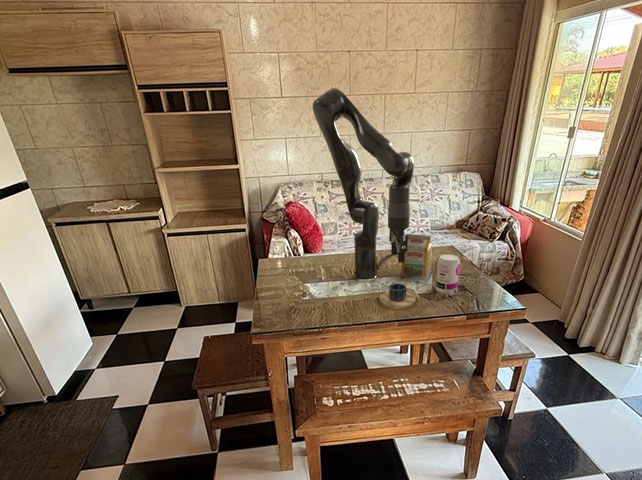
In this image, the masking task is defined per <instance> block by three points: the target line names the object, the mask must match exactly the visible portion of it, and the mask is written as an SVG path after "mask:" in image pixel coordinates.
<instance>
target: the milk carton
mask: <svg viewBox="0 0 642 480" xmlns="http://www.w3.org/2000/svg"><path fill="white" fill-rule="evenodd" d="M405 235H407V236H408V247H407V250H408V251H407V252H405V259H404V262H401V271H400V272H401V274H400V278H401V279H409V280H410V279H412V280H414V279H415V280H423V281H426V280H428V279H429V277H430V275H431V269H432V255H433V254H432V253H433V241H432V235H426V234H416V233H415V234H413V233H405ZM402 249H403V247H402Z"/></svg>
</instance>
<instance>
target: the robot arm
mask: <svg viewBox="0 0 642 480" xmlns="http://www.w3.org/2000/svg"><path fill="white" fill-rule="evenodd" d="M312 111H313V115H314V118H315V121H316V123H317V125H318V127H319V129H320V131H321V133H322V136H323V138H324V140H325V143H326V146H327V148H328V151H329V153H330V156H331V159H332V162H333V166H334V168H335V171H336V174H337V176H338V179H339V182H340V184H341V189H342V191H343V194H344V198H345V203H346V206H347V210H348V214H349V217H350V219H351V221H353V223H356V224H360V225H362V230H359V231H356V233H354V236H353V237H354V239H353V240H354V241H353V243H354V244H353V245H354V278H357V279H361V280H370V279H377V277H378V269H380V267H381V265H382V263H383V262H384V261H385V260H386V259H387V258H389V257H391V256H395V255H397V262H398V263H399V264H400V263H401V264H402V262H404V259H405V252H407V251H408V250H407V247H408V236H407V235H406V233H405V230H407V229H409V227H410V214H411V213H410V212H411V206H410V205H411V204H410V195H411V194H410V192H411V191H410V189H411V184H412V179H413V175H414V169H415V163H414V158H413V155H412V154H411V153H409V152H408V151H400V152H397V151H396V150H394V148H393V147H392V142H391V141H390V140H389V138H387V137H386V136H385V135H383V134H382V133H381V132H380V131H379V130H377V129H376V128H375V127H374V126H373V125H372V124H371V123H370V121H368V120H367V118H366V117H365V116H364V115H363V114H362V113H361V112H360V111H359V108H357V107H356V106H355V104H354V103H353V102H352V101H351V100H350V98H349V97H348V96H347V94H345V93H344V92H343V91H342V90H340V88H336V87H332V88H329V89H328V90H326V91H325V92H324V93H322V94H320V95H319V96H318V97H317V98H315V99H314V100H313V102H312ZM341 118H344V119H346V120H347V121H348V122H349V123H351V126H352V127H353V130H354V132H355V136H356V138H357V141H358V143H359V144H360V146H361V147H362V148H363V149H364V150H365V151H366V152H367V153H368V154H370V155H371V156H372V157H373V158H375V159H376V161H377V162H378V164H379V165H380V166H381V168H382V169H383V170H384V171H385V172H386V174H388V175H389V176H392V177H393V180H392V183H391V184H390V185H389V188H388V206H387V228H388V229H389V232H388V233H389V234H388V235H389V236H388V237H389V238H388V241H389V242H390V254H387V255H386V256H384V257H383V258H382V259H381V260H380V262H379V264H378V256H377V236H378V233H379V219H380V210H379V206H378V204H377V203H375V202H373V201H367V200H363V197H361V194H360V190H359V189H360V188H359V185H360V182H361V177H362V165H361V162H360V160H359V156H358V153H357V151H356V150H355V149H354V148H353V147H352V146H351V144H349V143H348V142H346V141H345V140H344V139H343V138H342V137H341V135H340V134H339V132H338V129H337V126H336V122H337V121H338V120H340V119H341ZM402 248H403V249H402Z"/></svg>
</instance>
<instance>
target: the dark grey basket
mask: <svg viewBox="0 0 642 480" xmlns="http://www.w3.org/2000/svg"><path fill="white" fill-rule="evenodd" d="M412 289H413V287H412V286H411V284H409V285H406V284H402V283H392V284H390V285H389V286H388V292H389V299H390V300H391V301H394V302H401V301H404V300H405V299H406V292H407V291H409V290H410V291H411V290H412Z"/></svg>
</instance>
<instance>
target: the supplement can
mask: <svg viewBox="0 0 642 480" xmlns="http://www.w3.org/2000/svg"><path fill="white" fill-rule="evenodd" d="M460 264H461V260H460V257H459V256H458V255H456V254H451V253H446V254H441V255H440V256H439V258H438V260H437V269H436V270H437V271H436V281H435V290H436V291H437V292H438V293H439V294H445V295H446V294H448V296H449V297H452V296H454V295H456V294H457V291H458V283H459V275H460Z"/></svg>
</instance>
